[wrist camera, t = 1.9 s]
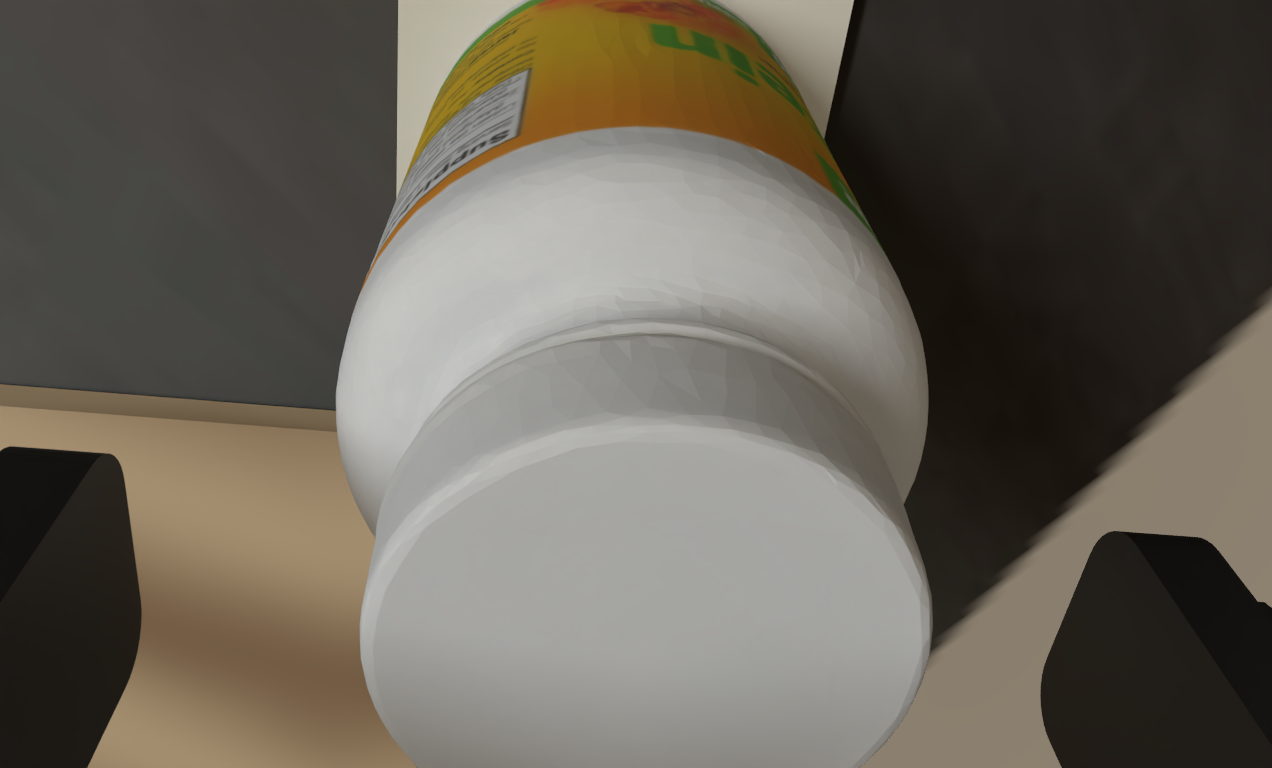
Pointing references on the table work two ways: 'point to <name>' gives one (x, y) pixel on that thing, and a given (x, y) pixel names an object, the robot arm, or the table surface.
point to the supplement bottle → (634, 414)
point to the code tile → (467, 3)
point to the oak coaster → (229, 580)
